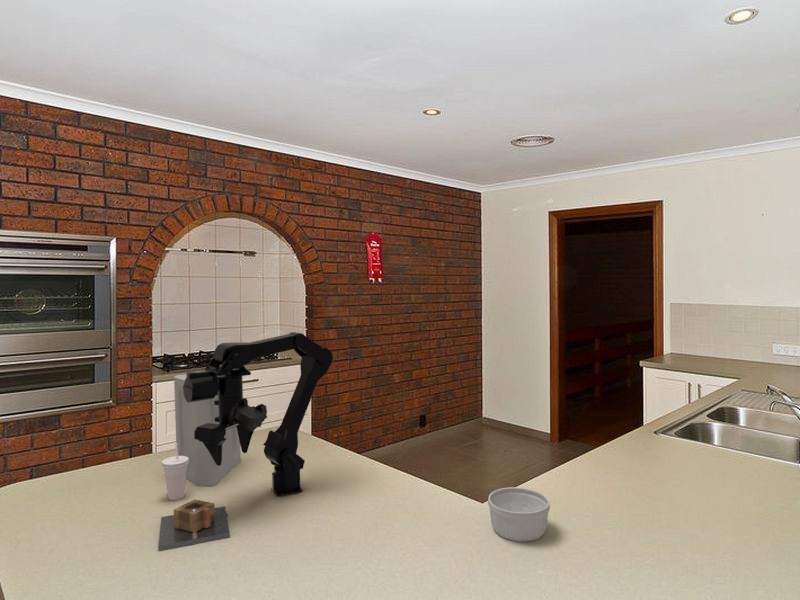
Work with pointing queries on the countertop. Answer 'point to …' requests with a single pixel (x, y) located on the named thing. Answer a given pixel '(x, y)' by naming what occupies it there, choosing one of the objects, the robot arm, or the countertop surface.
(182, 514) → the wooden cubby with handle
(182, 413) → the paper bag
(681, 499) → the countertop surface
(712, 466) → the countertop surface
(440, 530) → the countertop surface
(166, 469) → the smoothie
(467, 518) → the countertop surface
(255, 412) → the robot arm
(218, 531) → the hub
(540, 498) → the ramekin
